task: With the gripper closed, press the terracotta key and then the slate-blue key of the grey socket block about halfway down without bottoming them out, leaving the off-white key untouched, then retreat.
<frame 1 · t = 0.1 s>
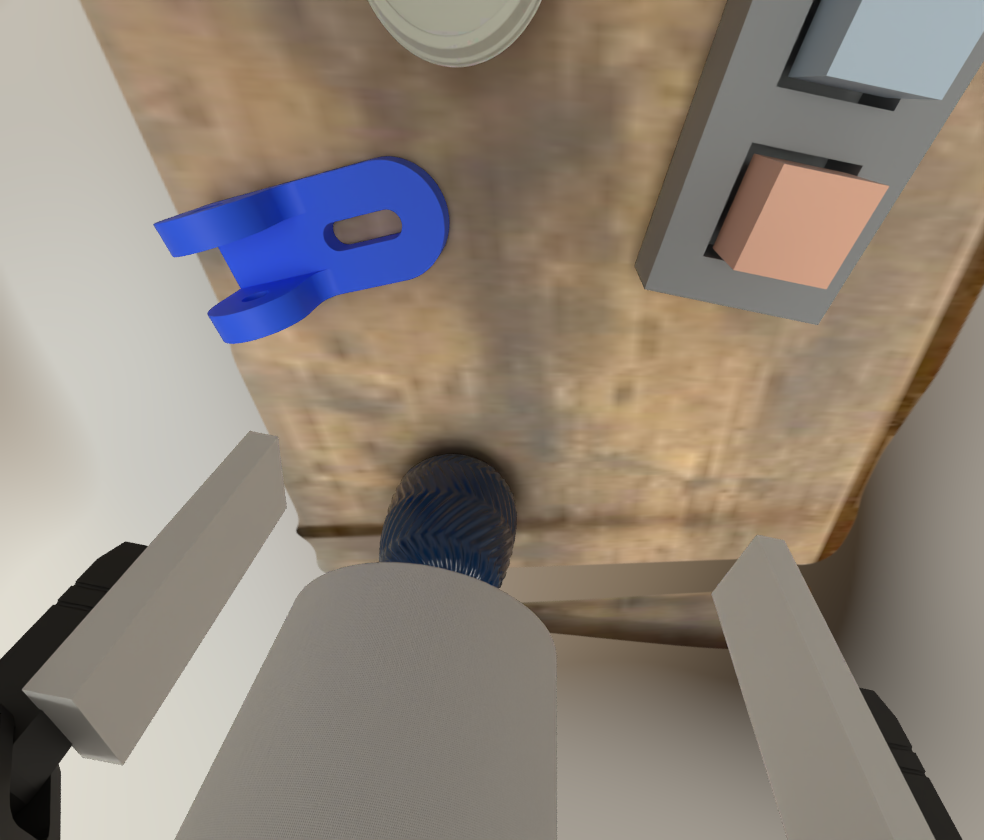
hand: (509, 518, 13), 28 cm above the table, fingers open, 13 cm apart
terracotta key: (789, 220, 27), point 7 cm above the table, slide at 0.0 cm
lamp: (461, 482, 51), on the table
slate key: (895, 16, 22), point 7 cm above the table, slide at 0.0 cm
grey socket block: (826, 30, 27), on the table
bracket: (339, 231, 37), on the table
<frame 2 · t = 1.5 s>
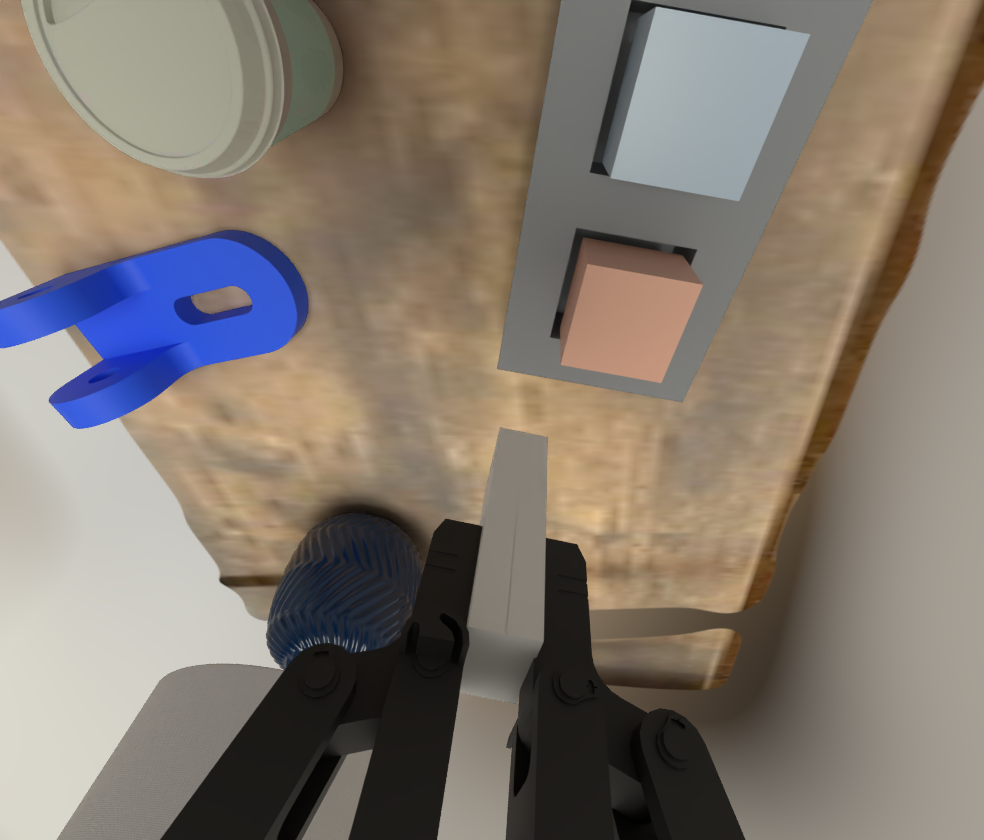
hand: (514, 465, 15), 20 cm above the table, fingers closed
coffee cup: (292, 57, 26), on the table
terracotta key: (621, 309, 25), point 7 cm above the table, slide at 0.0 cm
lamp: (372, 537, 50), on the table
slate key: (688, 109, 20), point 7 cm above the table, slide at 0.0 cm
grey socket block: (659, 100, 25), on the table
bracket: (199, 301, 36), on the table
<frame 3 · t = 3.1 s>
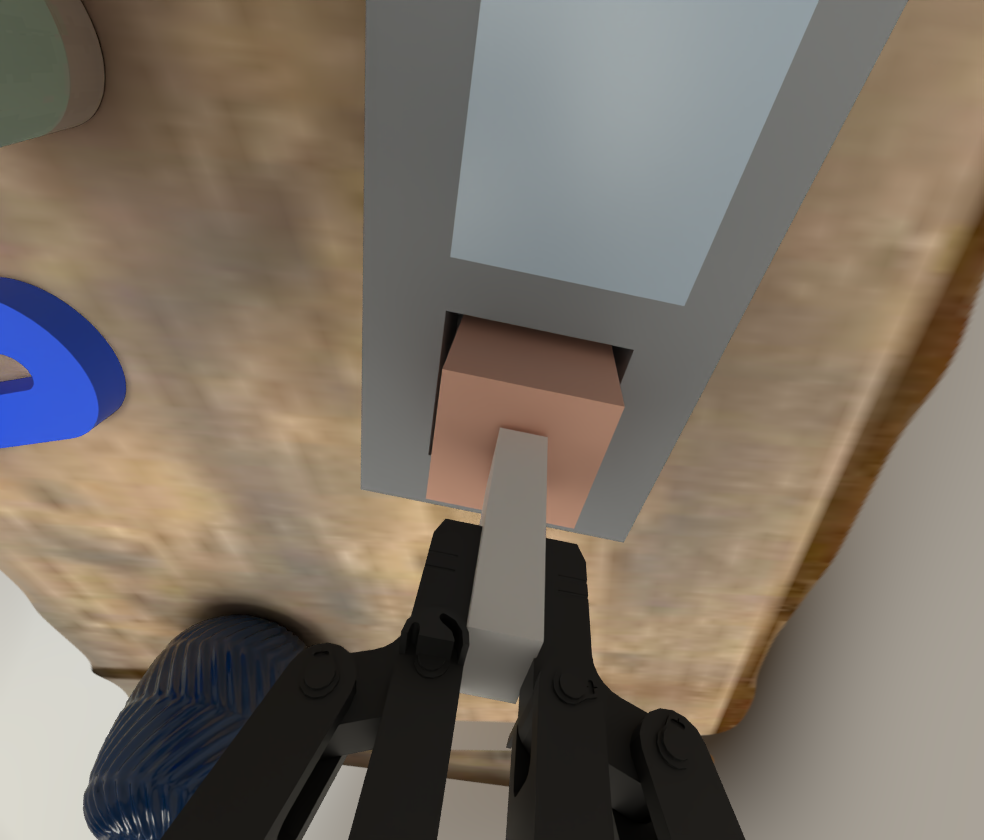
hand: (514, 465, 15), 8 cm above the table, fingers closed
coffee cup: (25, 31, 17), on the table
terracotta key: (519, 418, 17), point 6 cm above the table, slide at 1.1 cm, touching gripper
lamp: (263, 637, 40), on the table
slate key: (596, 135, 11), point 7 cm above the table, slide at 0.0 cm
grey socket block: (582, 117, 16), on the table
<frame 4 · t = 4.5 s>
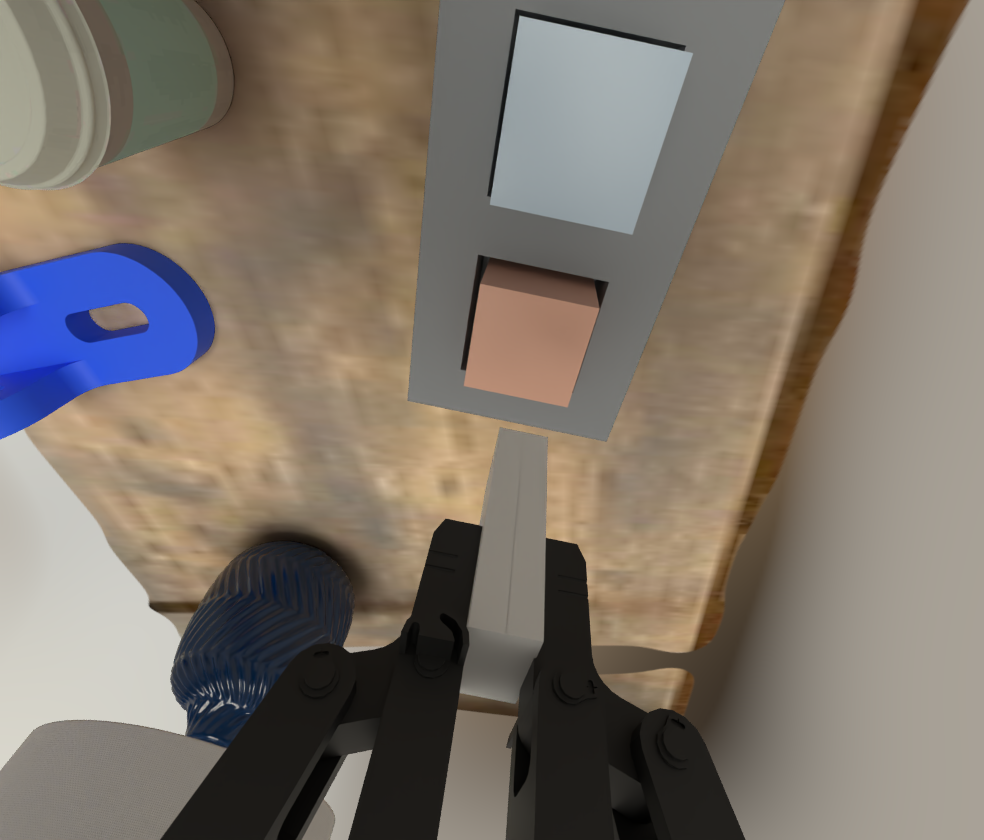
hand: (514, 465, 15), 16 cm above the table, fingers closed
coffee cup: (179, 60, 24), on the table
terracotta key: (529, 330, 24), point 5 cm above the table, slide at 1.6 cm
lamp: (305, 565, 47), on the table
slate key: (578, 131, 18), point 7 cm above the table, slide at 0.0 cm
grey socket block: (573, 120, 23), on the table
bracket: (100, 316, 33), on the table
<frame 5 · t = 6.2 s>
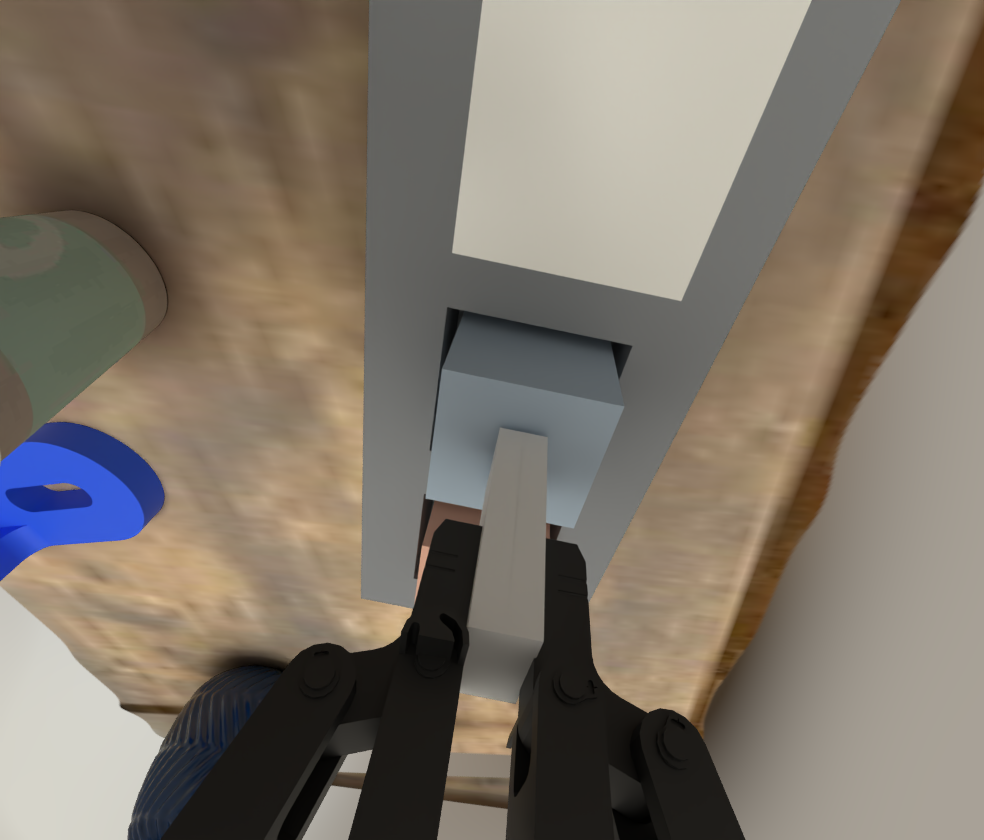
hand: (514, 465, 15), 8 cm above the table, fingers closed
coffee cup: (108, 274, 22), on the table
white key: (595, 134, 11), point 7 cm above the table, slide at 0.0 cm
terracotta key: (482, 555, 23), point 5 cm above the table, slide at 1.6 cm
lamp: (275, 682, 46), on the table
slate key: (519, 418, 17), point 6 cm above the table, slide at 0.9 cm, touching gripper
grey socket block: (526, 343, 22), on the table
bracket: (45, 477, 32), on the table
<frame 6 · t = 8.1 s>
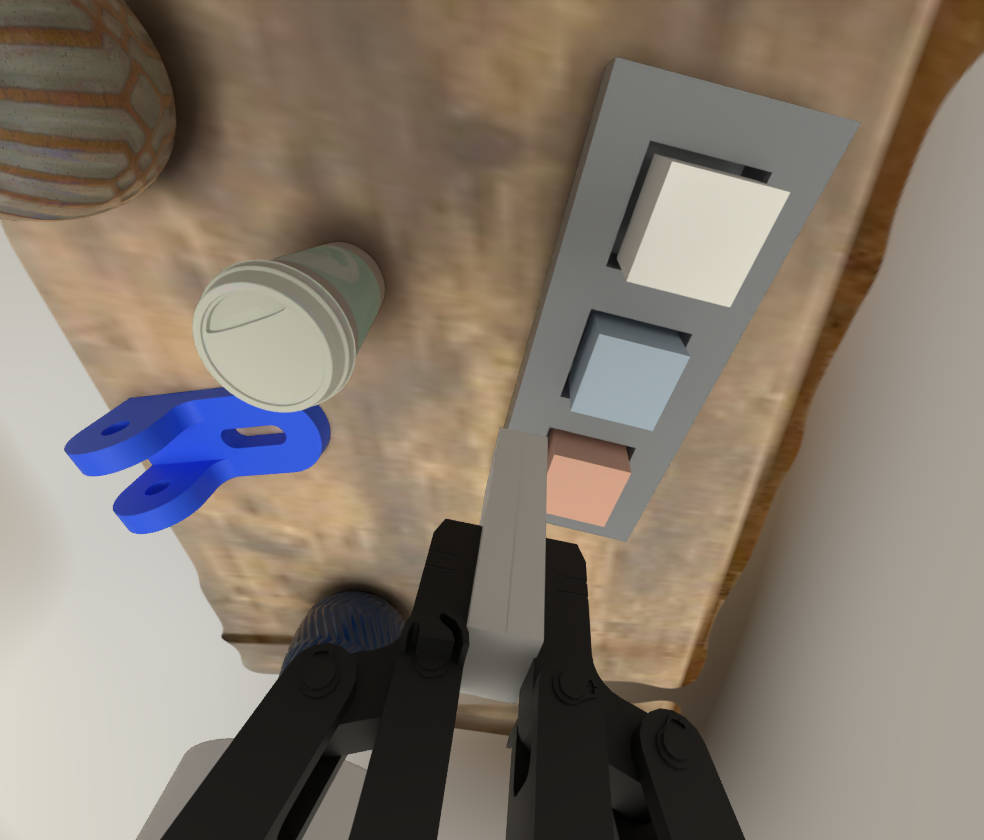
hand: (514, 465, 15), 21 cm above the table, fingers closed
vase: (116, 83, 29), on the table
coffee cup: (347, 282, 35), on the table
white key: (691, 229, 24), point 7 cm above the table, slide at 0.0 cm
terracotta key: (579, 472, 35), point 5 cm above the table, slide at 1.6 cm
lamp: (366, 609, 57), on the table
slate key: (623, 368, 30), point 5 cm above the table, slide at 1.6 cm
grey socket block: (614, 336, 35), on the table
bracket: (239, 425, 44), on the table
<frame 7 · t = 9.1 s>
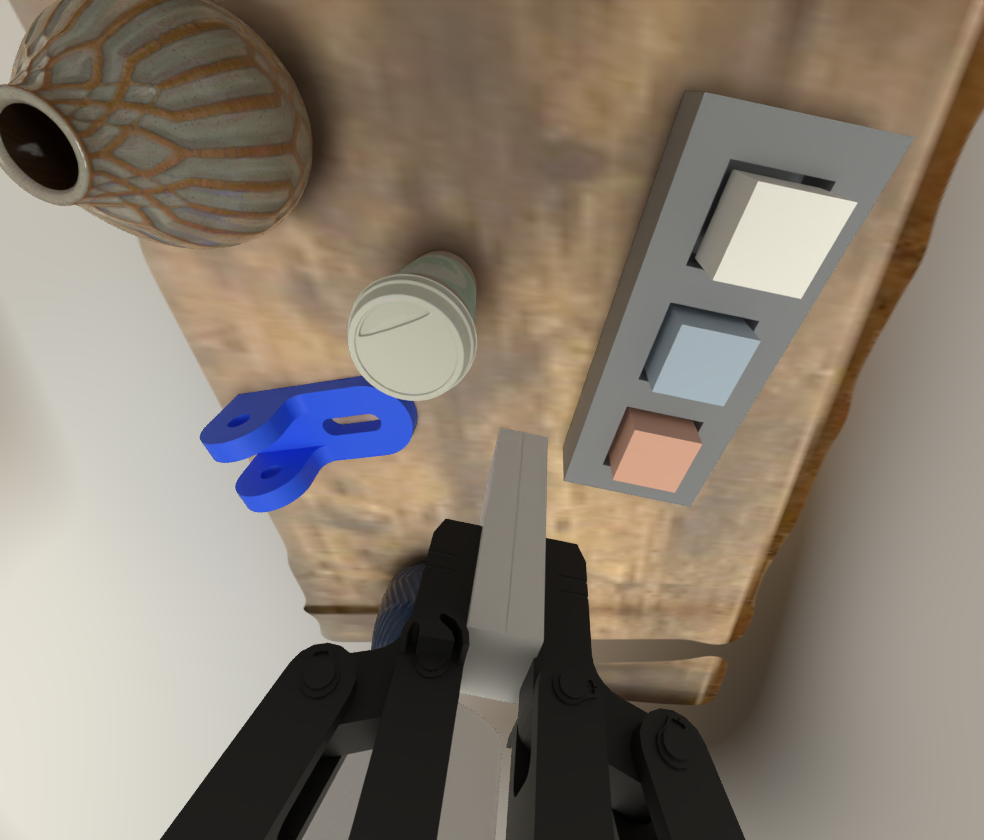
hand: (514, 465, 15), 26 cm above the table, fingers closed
vase: (252, 122, 34), on the table
coffee cup: (442, 285, 40), on the table
white key: (766, 233, 28), point 7 cm above the table, slide at 0.0 cm
terracotta key: (651, 445, 40), point 5 cm above the table, slide at 1.6 cm
lamp: (439, 579, 63), on the table
slate key: (696, 353, 35), point 5 cm above the table, slide at 1.6 cm
grey socket block: (681, 324, 39), on the table
bracket: (335, 415, 49), on the table
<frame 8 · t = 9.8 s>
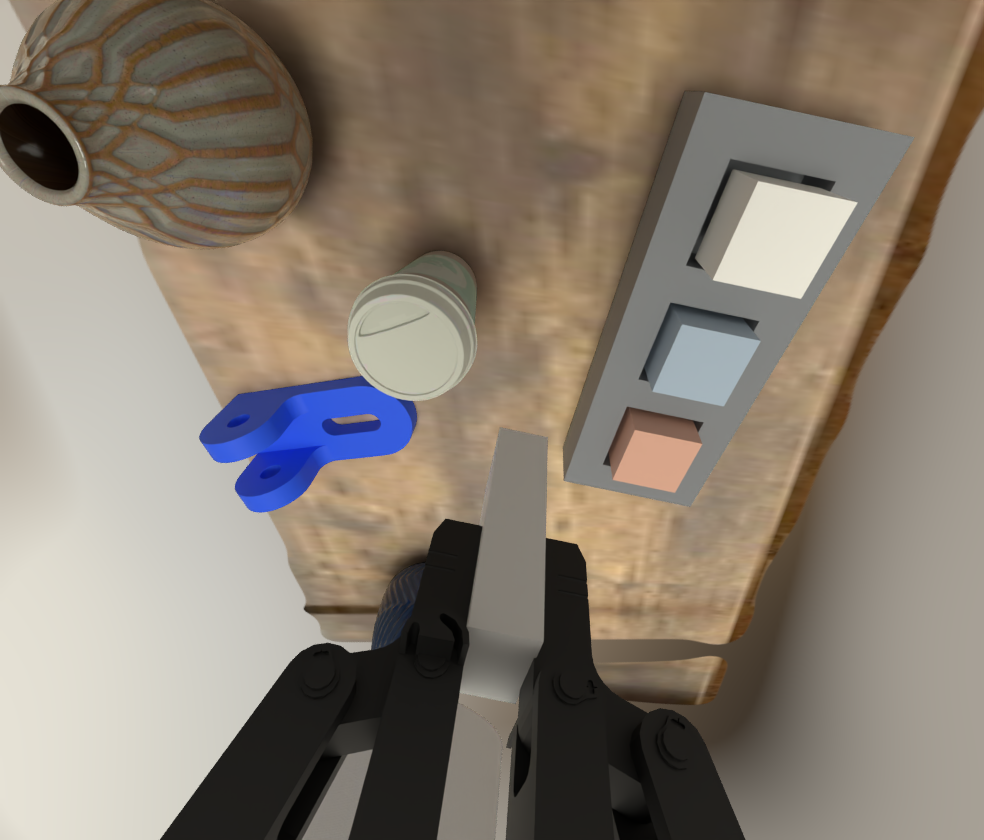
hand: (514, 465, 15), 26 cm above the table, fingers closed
vase: (252, 122, 34), on the table
coffee cup: (442, 285, 40), on the table
white key: (766, 233, 28), point 7 cm above the table, slide at 0.0 cm
terracotta key: (651, 445, 40), point 5 cm above the table, slide at 1.6 cm
lamp: (439, 579, 63), on the table
slate key: (696, 353, 35), point 5 cm above the table, slide at 1.6 cm
grey socket block: (681, 324, 39), on the table
bracket: (334, 415, 49), on the table
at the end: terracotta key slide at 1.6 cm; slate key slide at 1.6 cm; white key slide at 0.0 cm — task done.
